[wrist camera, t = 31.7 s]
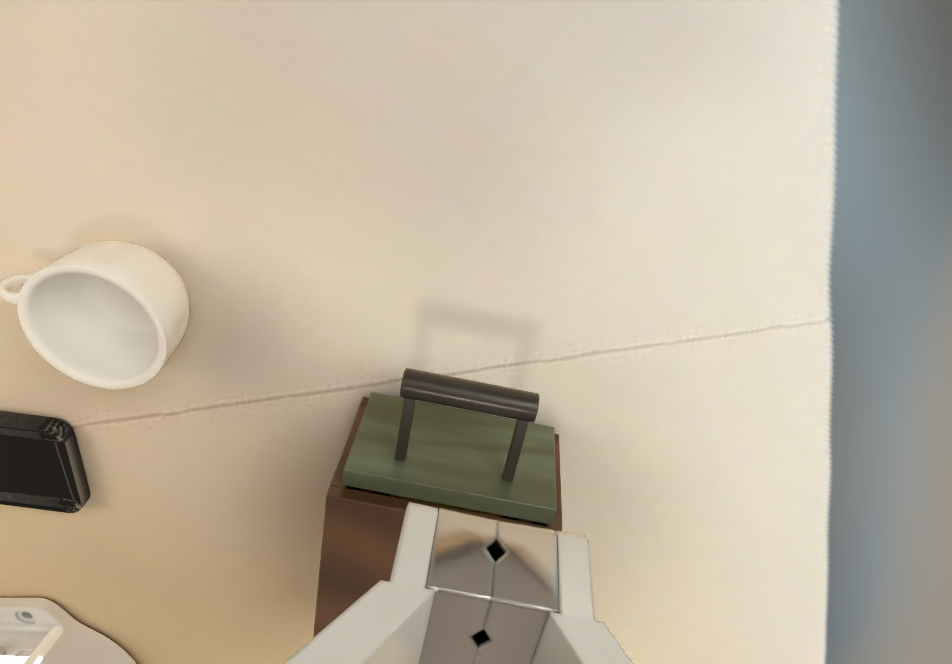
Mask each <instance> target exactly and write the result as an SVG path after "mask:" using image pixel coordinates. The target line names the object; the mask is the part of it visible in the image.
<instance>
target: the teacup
mask: <svg viewBox="0 0 952 664" xmlns="http://www.w3.org/2000/svg"><path fill="white" fill-rule="evenodd" d="M23 284H24V285H23ZM18 285H23V287H22V289H21V291H20V292H10V291H8V290H10V289H11V288H13V287H15V286H18ZM0 298H1V299H3V300H4V301H6V302H8V303H11V304H14V305H17V311H18V318H19V322H20V325H21V327H22V330H23V332H24V334H25V336H26V338H27V339H28V341H29V342H30V344H31V345H32V346H33V348H34V349H35V350H36V351H37V352H38V353H39V355H40V356H41V357H42V358H43V359H45V360H46V361H47V362H48V363H49V364H50V365H52V366H53V367H54V368H56V369H57V370H59V371H60V372H62V373H63V374H65V375H67V376H69V377H71V378H73V379H75V380H77V381H79V382H82V383H85V384H88V385H91V386H95V387H99V388H105V389H127V388H132V387H136V386H139V385H142V384H144V383H146V382H148V381H149V380H151V379H152V378H153V377H154V376H155V375H156V374H157V373H158V372H159V371H160V370H161V369H162V367H163V366H164V365H165V363H166V362H167V361H168V359H169V358H170V356H171V355H172V354H173V352H174V351H175V349H176V348H177V346H178V344H179V343H180V341H181V339H182V338H183V336H184V333H185V331H186V328H187V324H188V318H189V299H188V295H187V291H186V288H185V286H184V284H183V281H182V280H181V278H180V276H179V275H178V273H177V272H176V271H175V269H174V268H173V267H172V266H171V265H170V264H169V263H168V262H167V261H166V260H165V259H163V258H162V257H161V256H159V255H158V254H156V253H155V252H153V251H151V250H149V249H147V248H145V247H143V246H140V245H137V244H134V243H129V242H124V241H99V242H94V243H90V244H87V245H85V246H83V247H81V248H79V249H77V250H75V251H73V252H71V253H69V254H67V255H65V256H63V257H62V258H60V259H58V260H56V261H54V262H52V263H51V264H49V265H47V266H45V267H44V268H42V269H40V270H39V271H38V272H36V273H35V274H24V275H16V276H11V277H9V278H6V279H5V280H3V281H2V282H1V283H0Z"/></svg>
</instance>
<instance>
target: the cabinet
mask: <svg viewBox="0 0 952 664" xmlns="http://www.w3.org/2000/svg"><path fill="white" fill-rule="evenodd" d="M368 400H369V398H366V397H363V399H362V402H361V404H360V407H359V410H358V412H357V415H356V418H355V420H354V423H353V426H352V428H351V431H350V434H349V436H348V439H347V442H346V444H345V447H344V450H343V452H342V455H341V458H340V461H339V463H338V466H337V469H336V471H335V474H334V477H333V479H332V482H331V485H330V488H329V490H328V493H327V496H326V506H325V517H324V528H323V538H322V549H321V560H320V571H319V581H318V592H317V603H316V614H315V624H314V635H313V638H314V637H315V636H316V635H317V634H318V633H320V632H321V631H322V630H323V629H324V628H325V627H327V626H328V625H329V624H330V623H331V622H332V621H334V620H335V619H336V618H337V617H338V616H339V615H341V614H342V613H343V612H344V611H345V610H346V609H348V608H349V607H350V606H351V605H352V604H353V603H355V602H356V601H357V600H358V599H359V598H360V597H362V596H363V595H364V594H365V593H366V592H367V591H369V590H370V589H371V588H372V587H373V586H374V585H376V584H377V583H378V582H379V581H380V580H383V581H389V582H390V578H391V573H392V569H393V565H394V560H395V556H396V552H397V547H398V543H399V538H400V534H401V530H402V525H403V521H404V517H405V512H406V509H407V506H408V504H409V502H412V503H416V504H421V505H425V506H430V507H435V508H438V512H439V508H442V509H447V510H451V511H456V512H461V513H465V514H470V515H474V516H479V517H484V518H488V519H493V520H501V521H506V522H512V523H517V524H523V525H528V526H534V527H539V528H545V529H550V530H554V531H561V532H562V506H561V479H560V452H559V435H558V434H554V438H555V474H556V513H555V516H554V519H553V522H552V524H551V525H550V524H544V523H539V522H534V521H532V523H526V522H521V521H516V520H511V519H505V518H500V517H495V516H490V515H484V514H479V513H474V512H468V511H463V510H458V509H453V508H447V507H442V506H437V505H432V504H426V503H421V502H416V501H411V500H405V499H400V498H395V497H390V496H384V495H379V494H374V493H369V492H363V491H359V488H355V487H350V486H345V485H343V484H342V481H343V472H344V467H345V464H346V462H347V459H348V456H349V453H350V450H351V448H352V445H353V442H354V439H355V437H356V434H357V431H358V428H359V425H360V423H361V420H362V417H363V414H364V411H365V409H366V406H367V403H368Z"/></svg>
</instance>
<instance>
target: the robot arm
mask: <svg viewBox="0 0 952 664" xmlns="http://www.w3.org/2000/svg"><path fill="white" fill-rule="evenodd" d="M0 664H136V662H135V661H134V660H133V659H132V657H131V656H130V655H129V654H128V653H127V652H126V651H124V650H123V649H122V648H121V647H120V646H119V645H117V644H116V643H114V642H113V641H112V640H110V639H109V638H107V637H105V636H104V635H102V634H100V633H98V632H96V631H95V630H93V629H91V628H89V627H87V626H85V625H83V624H81V623H79V622H78V621H76V620H75V619H74V618H72V617H71V616H70V615H69V614H68V613H67V612H66V611H65V610H63V609H62V608H61V607H60V606H58V605H57V604H56V603H54V602H52V601H50V600H48V599H45V598H0ZM283 664H633V662H632V661H631V659H630V658H629V657H628V655H627V654H626V653H625V651H624V650H623V648H622V647H621V646H620V644H619V643H618V642H617V640H616V639H615V637H614V636H613V635H612V633H611V632H610V630H609V629H608V628H607V626H606V625H605V624H604V622H600V621H596V620H595V619H594V607H593V595H592V583H591V570H590V558H589V546H588V540H587V538H586V536H583V535H578V534H572V533H567V532H561V531H554V530H550V529H545V528H539V527H534V526H528V525H523V524H517V523H512V522H506V521H501V520H493V519H488V518H484V517H479V516H474V515H470V514H465V513H461V512H456V511H451V510H447V509H442V508H439V512H438V508H435V507H430V506H425V505H421V504H416V503H412V502H409V504H408V506H407V509H406V512H405V517H404V521H403V525H402V530H401V534H400V538H399V543H398V547H397V552H396V556H395V560H394V565H393V569H392V573H391V578H390V582H389V581H383V580H380V581H379V582H378V583H377V584H376V585H374V586H373V587H372V588H371V589H370V590H369V591H367V592H366V593H365V594H364V595H363V596H362V597H360V598H359V599H358V600H357V601H356V602H355V603H353V604H352V605H351V606H350V607H349V608H348V609H346V610H345V611H344V612H343V613H342V614H341V615H339V616H338V617H337V618H336V619H335V620H334V621H332V622H331V623H330V624H329V625H328V626H327V627H325V628H324V629H323V630H322V631H321V632H320V633H318V634H317V635H316V636H315V637H314V638H313V639H311V640H310V641H309V642H308V643H307V644H306V645H304V646H303V647H302V648H301V649H300V650H299V651H297V652H296V653H295V654H294V655H293V656H292V657H290V658H289V659H288V660H287V661H286V662H285V663H283Z"/></svg>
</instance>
